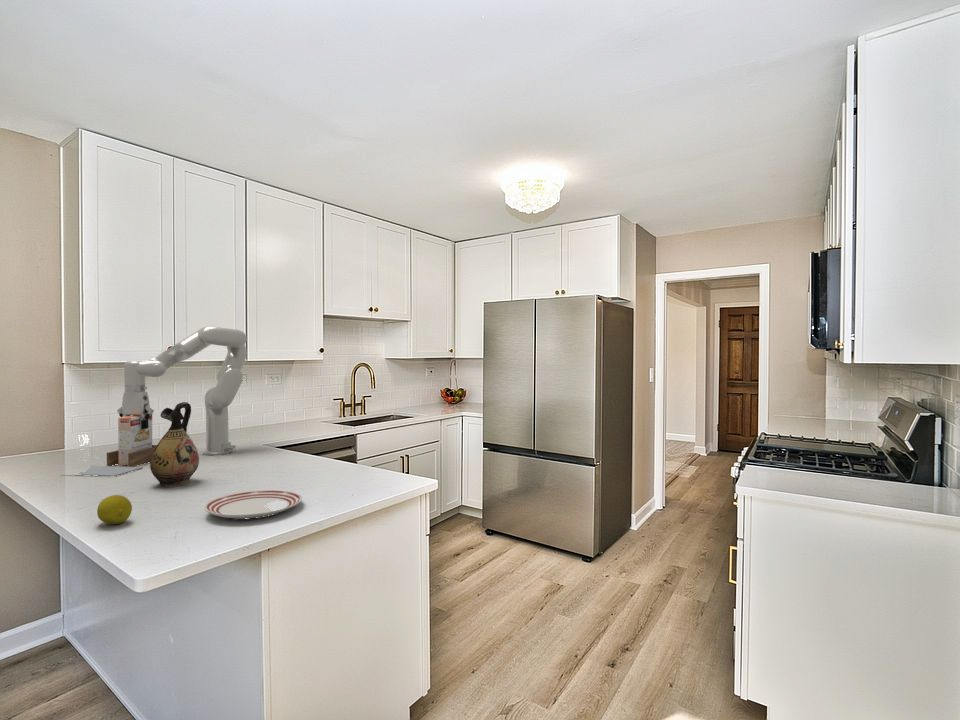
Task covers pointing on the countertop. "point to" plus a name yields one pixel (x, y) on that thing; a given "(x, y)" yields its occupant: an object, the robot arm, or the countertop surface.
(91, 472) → the mat
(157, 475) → the ceramic jug
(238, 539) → the countertop surface
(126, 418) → the cracker box
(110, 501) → the lemon
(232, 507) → the dinner plate
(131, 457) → the holder
